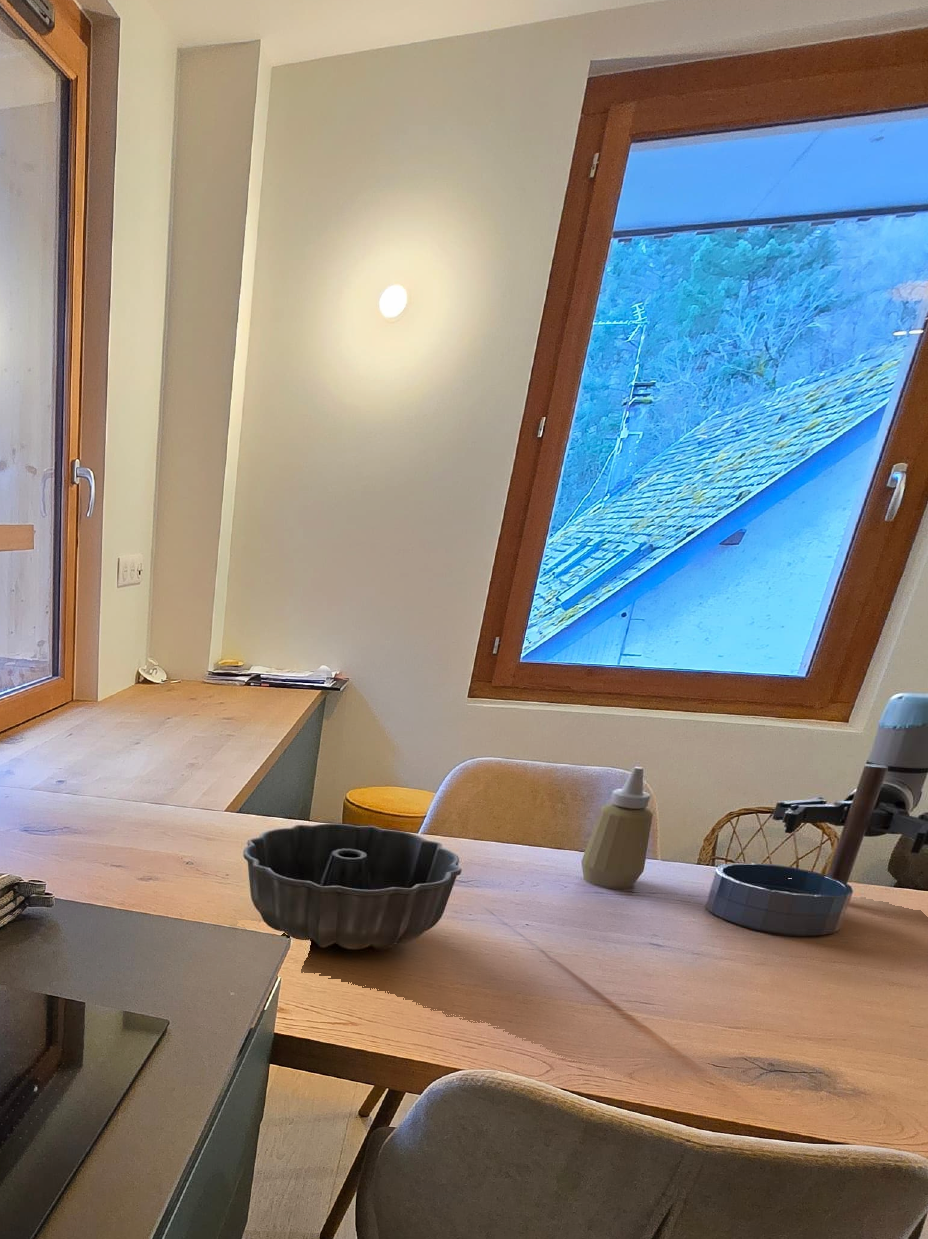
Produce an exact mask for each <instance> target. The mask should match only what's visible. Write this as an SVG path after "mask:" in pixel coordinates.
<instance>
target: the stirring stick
mask: <svg viewBox="0 0 928 1239" xmlns="http://www.w3.org/2000/svg"><path fill="white" fill-rule="evenodd" d="M887 770H888V767H887V766H883V765H876V764H866V763H865V764H864V767H863V770H862V772H861V774H860V778H859V781H858V784H857V786H856V788H855V790H856V792H855V795H854V798H853V801H852V804H851V807H850V809H849V812H848V815H847V818H846V821H845V824H844V826H842V829H841V833H840V835H839V839H838V842H837V845H836V847H835V850H834V853H833V856H832V859H831V862H830V864H829V867H828V869H827V870H828V871H827V874H826V875H827V876H830V877H833V878H835V879H838V880H840V881H843V882H845V883H846V884H848V882H849V879H850V877H851V874H852V871H853V868H854V865H855V863H856V860H857V857H858V854H859V851H860V848H861V845H862V843H863V840H864V837H865V836H864V835H865V832H866V829H867V826H868V823H869V820H870V818H871V815H872V812H873V809H874V806H875V804H876V801H877V798H878V795H879V792H880V789H881V787H882V784H883V781H884V778H885V775H886V773H887Z"/></svg>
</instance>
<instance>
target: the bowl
mask: <svg viewBox="0 0 928 1239" xmlns="http://www.w3.org/2000/svg"><path fill="white" fill-rule="evenodd" d="M788 878H792V879H788ZM853 893H854V890H853V887H852V886H851V885H850V884H848V883H847V884H846V883H845V882H843V881H840V880H838V879H835V878H833V877H830V876H827V874H823V873H819V872H816V871H812V870H807V869H801V868H797V867H792V866H786V865H778V864H770V863H760V862H759V863H758V862H731V863H723V864H720V865H719V866H716V868H715V871H714V874H713V878H712V881H711V885H710V888H709V891H708V895H707V899H706V901H705V906H704V907H705V908H706V909H707V910H708V911H709V912H710V913H711V914H713V915H715V916H717V917H719V918H721V919H723V920H725V921H727V922H730V923H732V924H735V925H737V926H740V927H743V928H746V929H749V930H753V931H758V932H762V933H766V934H772V935H779V936H788V937H801V938H803V937H804V938H807V937H808V938H809V937H820V936H824V935H830V934H834V933H836V932H838V931H839V930H840V929H841V927H842V924H843V920H844V918H845V915H846V913H847V911H848V907H849V904H850V902H851V899H852V896H853Z"/></svg>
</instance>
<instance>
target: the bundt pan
mask: <svg viewBox="0 0 928 1239" xmlns="http://www.w3.org/2000/svg"><path fill="white" fill-rule="evenodd" d="M246 841H247V842H246V845H247V846H246V847H244V849H243V852H242V856H243V858H244V859H245V861H247V870H248V881H249V892H250V897H251V898H250V899H251V901H252V904H253V906H254V908H255V909H256V910H257V911H258V913H259V914H260V916H261V919H262V920H263V922H264V923H265V924H266V925H267V926H268V927H270V928H271V929H272V930H275V931H279V932H283V933H285V935H287V936H288V937H291V938H292V939H295V940H299V941H311V940H313V941H314V942H315V943H316V944H317V945H318V946H319V947H320V948H327V947H330V946H332V945H334V944H337V945H338V946H340V947H342V948H344V949H347V950H362V949H366V948H368V947H369V946H370V947H372V948H375V949H376V950H387V949H389V948H391V947H393V946H394V945H395V944H406V943H408V942H412V941H414V940H416V939H417V938H419V937H421V936H422V935H423V934H424V933H425V932H427V931H429V930H431V929H433V927H435V926H436V925H437V924H438V923H439V921H440V920H441V918H442V917H443V915H444V912H445V910H446V907H447V904H448V901H449V899H450V896H451V893H452V890H453V888H454V884H455V882H456V879H457V878H458V877H457V876H461V874H462V870H463V869H462V868H461V867H459V863H460V856H459V855H457V854H456V853H455V852H453V851H452V850H449V849H446V848H443V845H442V843H441V842H439V841H433V840H428V839H425V838H424V837H422V836H420V835H417V834H415V833H411V832H407V831H401V830H396V829H383V828H381V827H379V826H375V825H360V826H359V825H355V824H348V823H347V824H346V823H319V824H313V825H308V824H296V825H293V826H291V827H284V828H274V829H271V830H266V831H264V832H262V833H261V834H259V836H258V837H253V838H249V839H248V840H246Z"/></svg>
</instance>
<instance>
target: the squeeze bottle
mask: <svg viewBox="0 0 928 1239" xmlns="http://www.w3.org/2000/svg"><path fill="white" fill-rule="evenodd" d="M650 798H651V794H650V793H649V792H646V791H644V767H642V766H633V767H632V769H631V771H630V773H629V775H628V777H627V779H626V781H625V783H624V784H623V787H622V788H616V789H614V790H613V791H612V794H611V797H610V801H609V803H607V804H605V805H603V806H601V808H600V811H599V814H598V816H597V819H596V821H595V823H594V826H593V829H592V832H591V834H590V837H589V840H588V842H587V845H586V848H585V851H584V854H583V856H582V859H581V869H582V870H581V871H582V877H583V880H584V881H585V882H586V883H588V884H590V885H592V886H596V887H599V888H605V889H610V890H626V889H627V890H628V889H630V888H632V887H633V886H634V885H635V883H636V882H637V881H638V879H639V878H640V876H641V875H642V874H643V872H644V871H645V864H646V859H647V854H648V852H647V851H648V847H649V840H650V835H651V834H650V833H651V827H652V822H653V816H654V815H653V814H654V813H653V811H651V809H649V807H648V804H649V802H650Z"/></svg>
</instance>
